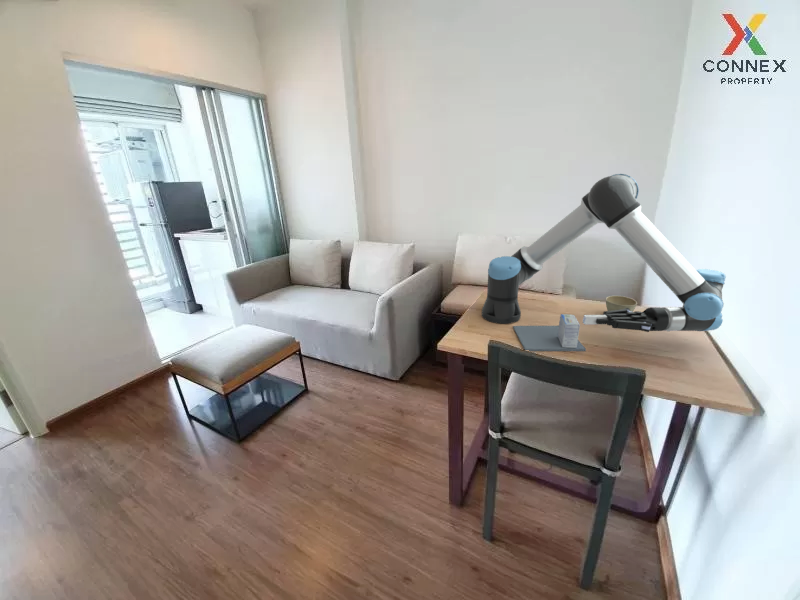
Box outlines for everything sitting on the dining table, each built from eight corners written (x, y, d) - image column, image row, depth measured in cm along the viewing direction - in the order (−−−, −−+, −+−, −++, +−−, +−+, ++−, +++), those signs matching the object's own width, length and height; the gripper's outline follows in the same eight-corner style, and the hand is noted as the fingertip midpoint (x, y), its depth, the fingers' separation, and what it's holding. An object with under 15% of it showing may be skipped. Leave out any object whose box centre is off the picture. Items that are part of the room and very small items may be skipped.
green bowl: (600, 310, 134) (604, 294, 131) (629, 313, 130) (633, 297, 127) (604, 321, 125) (608, 303, 122) (635, 324, 121) (640, 306, 119)
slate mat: (525, 351, 108) (525, 349, 108) (513, 327, 124) (513, 325, 123) (585, 351, 106) (586, 349, 106) (565, 327, 122) (565, 325, 122)
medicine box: (576, 348, 106) (580, 324, 103) (561, 347, 107) (565, 323, 104) (570, 337, 113) (574, 314, 110) (556, 336, 114) (560, 313, 111)
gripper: (672, 339, 100) (591, 339, 102) (646, 320, 112) (574, 321, 114) (679, 317, 97) (595, 317, 99) (651, 300, 109) (577, 301, 111)
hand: (584, 319), depth 106 cm, fingers closed
